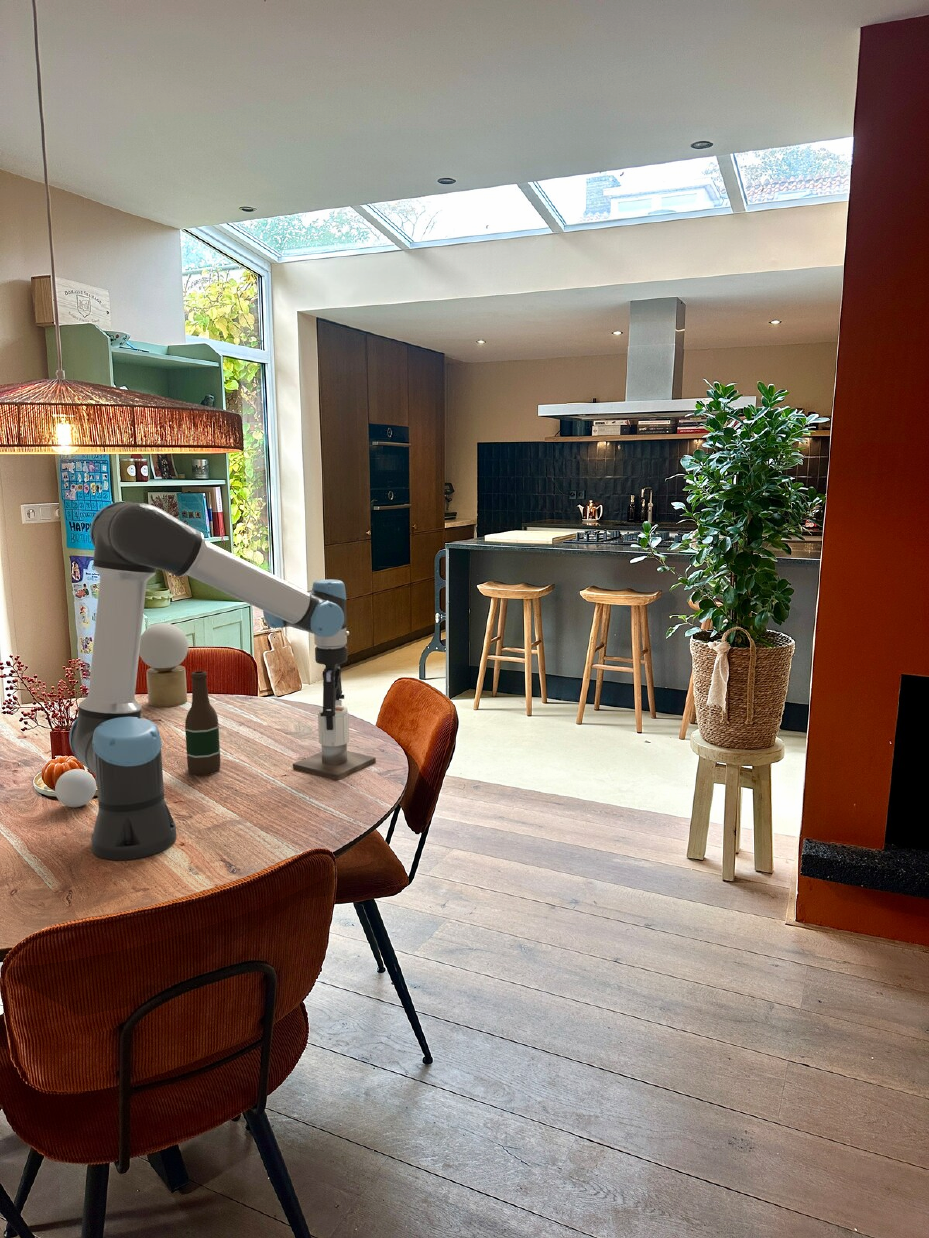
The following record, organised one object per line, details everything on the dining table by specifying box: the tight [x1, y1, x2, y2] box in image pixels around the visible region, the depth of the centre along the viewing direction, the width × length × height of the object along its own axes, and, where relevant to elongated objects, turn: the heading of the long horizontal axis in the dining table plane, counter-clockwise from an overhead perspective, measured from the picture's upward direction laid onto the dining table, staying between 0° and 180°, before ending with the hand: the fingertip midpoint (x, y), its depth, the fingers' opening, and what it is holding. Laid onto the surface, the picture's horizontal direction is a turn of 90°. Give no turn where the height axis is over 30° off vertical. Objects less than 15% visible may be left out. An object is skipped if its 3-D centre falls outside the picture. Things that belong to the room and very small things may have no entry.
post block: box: [292, 743, 377, 781], centre depth 202 cm, size 14×14×11 cm
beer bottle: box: [184, 670, 221, 776], centre depth 198 cm, size 8×8×24 cm
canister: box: [317, 705, 350, 746], centre depth 201 cm, size 7×7×9 cm
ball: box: [54, 768, 97, 808], centre depth 178 cm, size 8×8×8 cm
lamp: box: [139, 622, 189, 708], centre depth 254 cm, size 15×14×25 cm
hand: (333, 733), depth 202 cm, fingers open, 12 cm apart
